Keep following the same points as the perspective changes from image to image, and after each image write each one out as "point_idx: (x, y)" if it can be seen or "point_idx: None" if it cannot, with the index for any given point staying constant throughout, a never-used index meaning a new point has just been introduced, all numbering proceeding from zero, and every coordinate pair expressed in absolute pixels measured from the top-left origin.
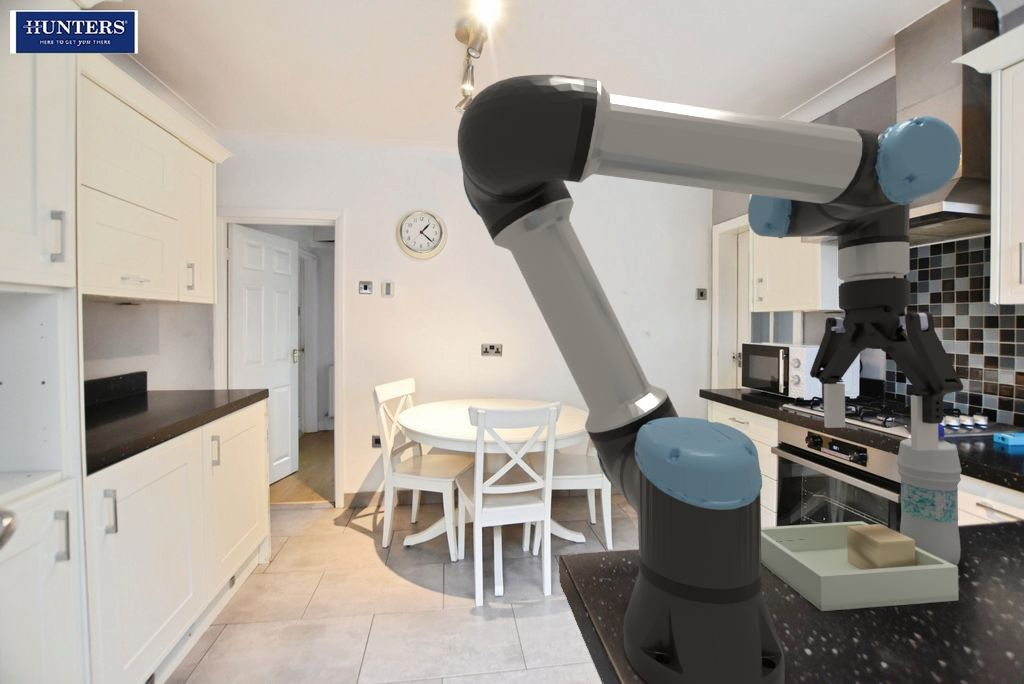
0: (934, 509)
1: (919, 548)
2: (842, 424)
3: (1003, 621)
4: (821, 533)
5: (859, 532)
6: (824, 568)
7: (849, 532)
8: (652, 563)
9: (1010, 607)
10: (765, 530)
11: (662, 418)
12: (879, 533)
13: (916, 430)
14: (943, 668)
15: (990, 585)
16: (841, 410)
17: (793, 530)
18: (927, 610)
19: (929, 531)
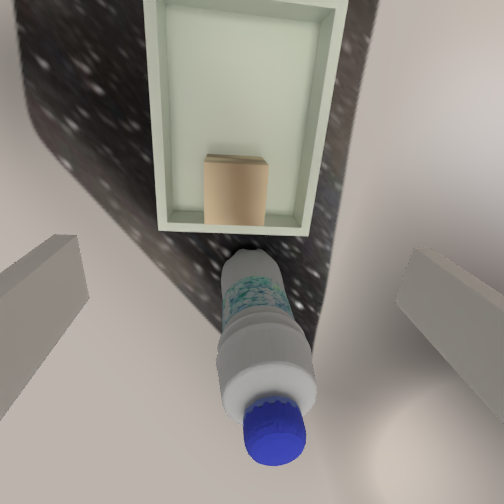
0: (230, 297)
1: (240, 255)
2: (403, 300)
3: (125, 221)
4: (309, 153)
5: (243, 164)
6: (252, 102)
7: (263, 163)
8: None
9: (150, 254)
10: (332, 26)
11: None
12: (234, 194)
13: (11, 266)
14: (31, 52)
15: (192, 278)
16: (437, 331)
17: (320, 95)
18: (149, 158)
19: (233, 274)
